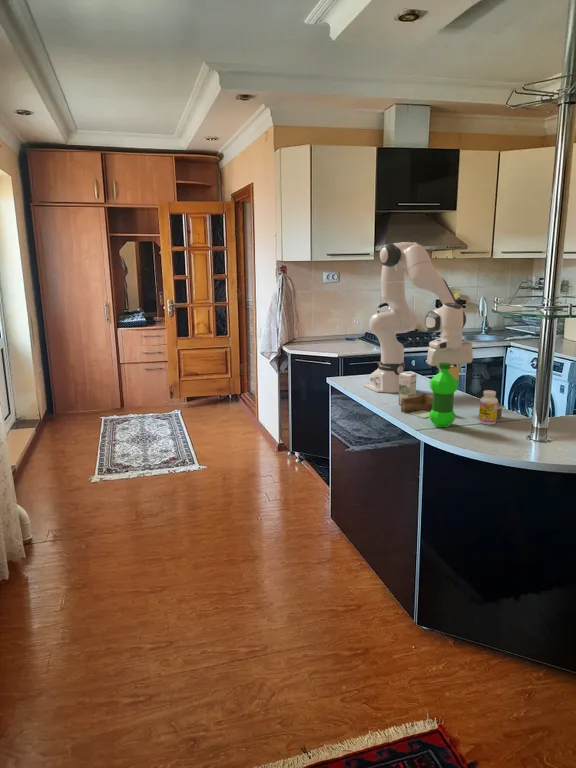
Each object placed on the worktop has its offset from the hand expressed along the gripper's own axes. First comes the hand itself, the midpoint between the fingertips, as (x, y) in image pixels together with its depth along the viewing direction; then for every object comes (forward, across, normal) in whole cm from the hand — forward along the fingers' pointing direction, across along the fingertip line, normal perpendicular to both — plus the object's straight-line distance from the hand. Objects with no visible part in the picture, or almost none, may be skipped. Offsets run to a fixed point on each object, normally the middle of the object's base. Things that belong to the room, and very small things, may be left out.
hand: (449, 374), depth 237 cm
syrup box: (+16, +11, -15) cm, 25 cm away
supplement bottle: (+16, -5, +20) cm, 26 cm away
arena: (+16, +11, 0) cm, 19 cm away
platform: (+17, -12, +14) cm, 25 cm away
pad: (+16, +12, +1) cm, 20 cm away
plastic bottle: (+16, +14, +17) cm, 27 cm away
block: (+2, 0, 0) cm, 2 cm away
